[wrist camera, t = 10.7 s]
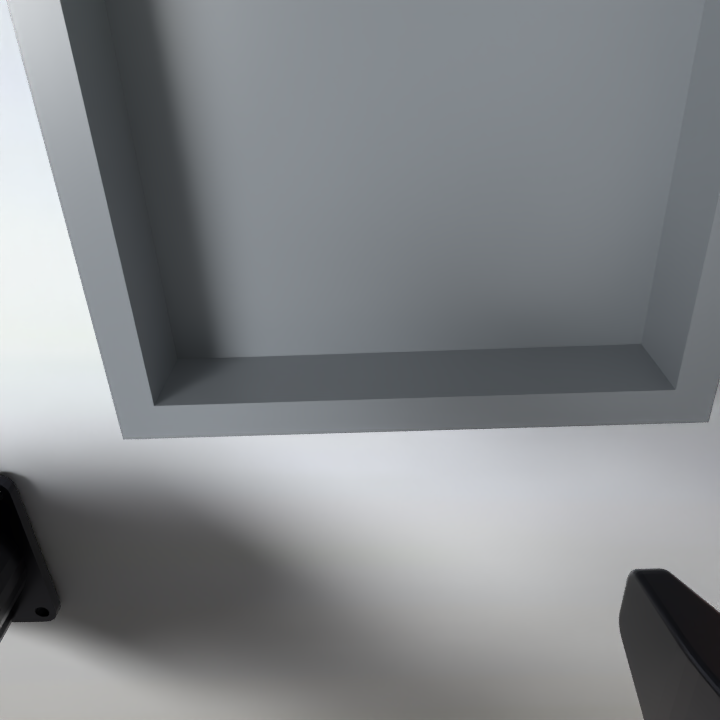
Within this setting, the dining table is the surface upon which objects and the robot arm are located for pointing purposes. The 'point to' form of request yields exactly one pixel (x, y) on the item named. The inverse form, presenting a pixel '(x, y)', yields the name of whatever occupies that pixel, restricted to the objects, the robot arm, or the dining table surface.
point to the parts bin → (388, 208)
